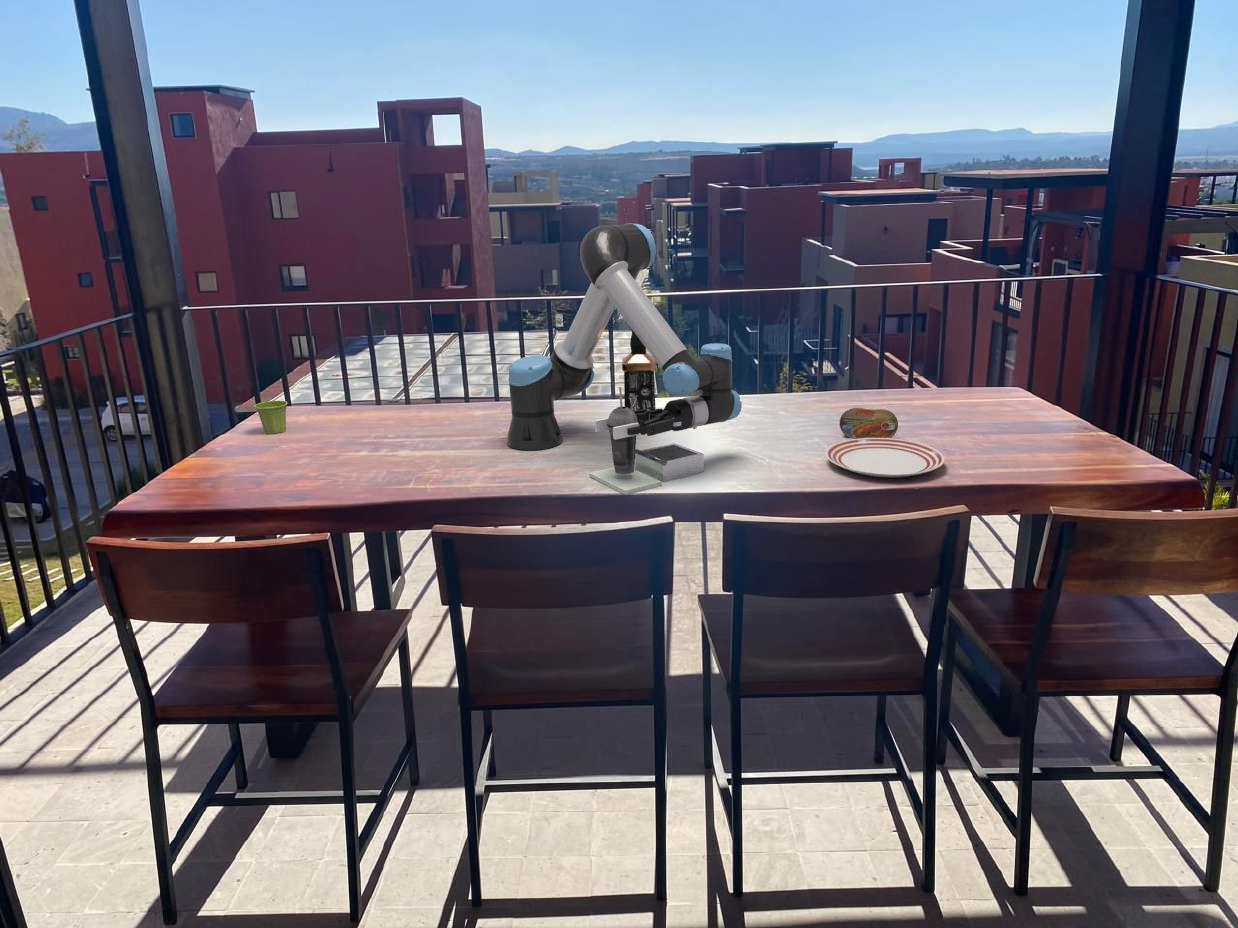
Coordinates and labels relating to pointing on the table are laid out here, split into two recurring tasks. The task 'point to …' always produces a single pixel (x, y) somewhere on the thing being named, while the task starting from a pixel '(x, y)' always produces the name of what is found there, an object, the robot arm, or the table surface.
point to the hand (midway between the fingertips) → (604, 429)
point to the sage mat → (625, 480)
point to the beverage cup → (622, 439)
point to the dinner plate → (885, 457)
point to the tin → (868, 423)
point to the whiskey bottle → (638, 377)
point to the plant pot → (272, 416)
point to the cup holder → (669, 462)
